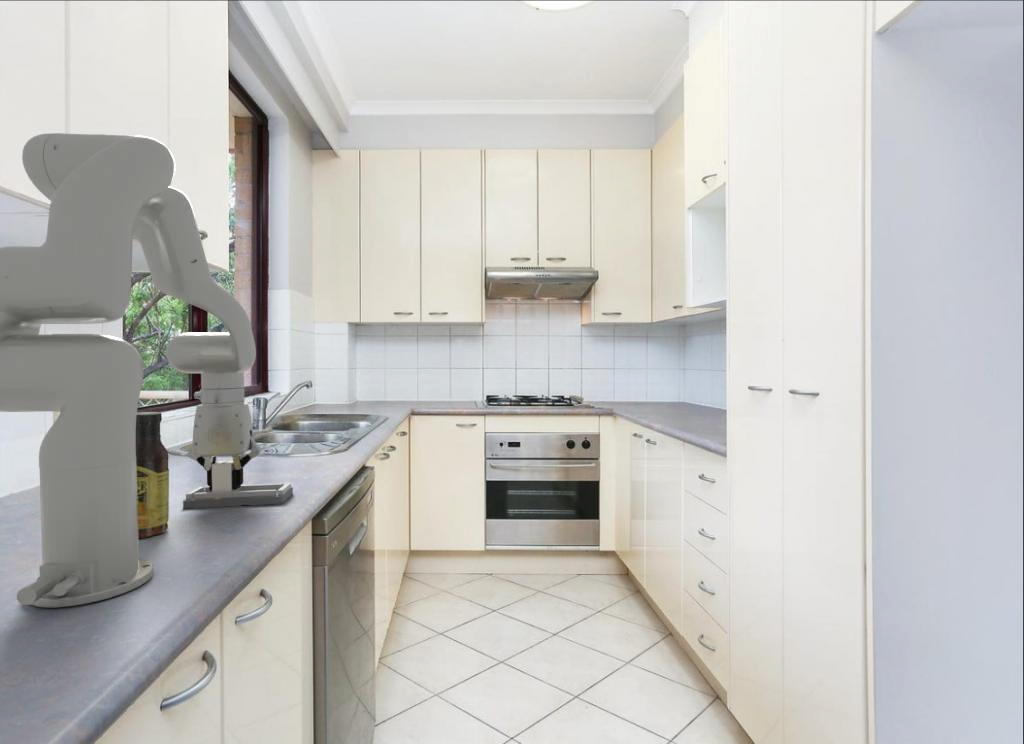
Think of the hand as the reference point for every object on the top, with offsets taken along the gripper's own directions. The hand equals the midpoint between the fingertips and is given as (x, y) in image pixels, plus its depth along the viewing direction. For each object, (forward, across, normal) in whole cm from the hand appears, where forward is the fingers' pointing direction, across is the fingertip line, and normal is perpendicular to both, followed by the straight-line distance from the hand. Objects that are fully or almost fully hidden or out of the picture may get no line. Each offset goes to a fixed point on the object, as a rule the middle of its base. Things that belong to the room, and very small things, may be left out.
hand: (225, 487), depth 107 cm
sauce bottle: (+3, -5, -19) cm, 20 cm away
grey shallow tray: (+3, +3, 0) cm, 4 cm away
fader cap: (+1, 0, 0) cm, 1 cm away
